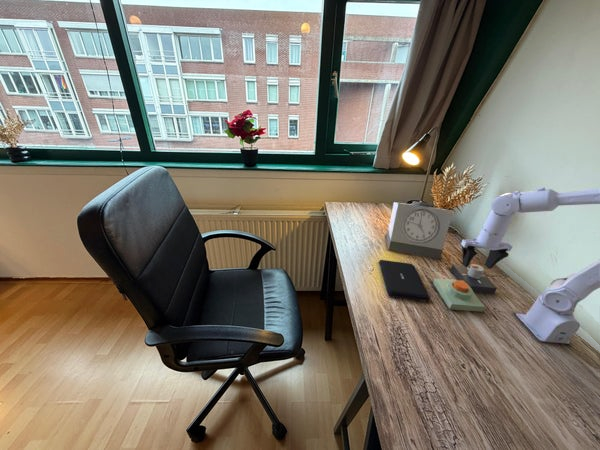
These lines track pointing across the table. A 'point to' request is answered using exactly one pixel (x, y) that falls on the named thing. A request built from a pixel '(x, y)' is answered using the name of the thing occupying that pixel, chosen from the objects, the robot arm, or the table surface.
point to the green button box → (457, 296)
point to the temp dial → (475, 271)
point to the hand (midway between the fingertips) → (476, 266)
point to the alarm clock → (418, 229)
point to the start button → (461, 286)
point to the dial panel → (473, 280)
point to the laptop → (403, 280)
